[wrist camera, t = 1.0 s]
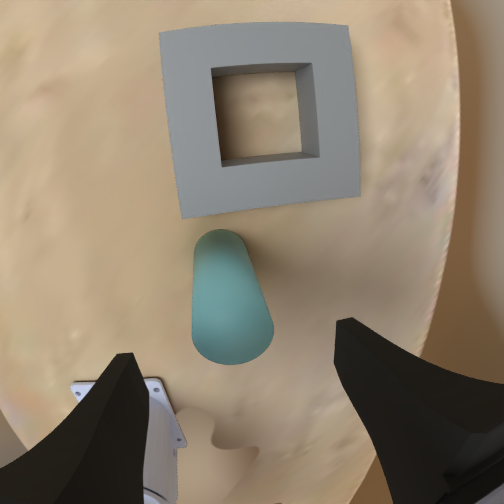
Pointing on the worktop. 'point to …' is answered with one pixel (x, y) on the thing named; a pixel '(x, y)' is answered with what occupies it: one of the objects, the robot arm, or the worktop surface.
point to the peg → (228, 301)
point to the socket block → (310, 113)
